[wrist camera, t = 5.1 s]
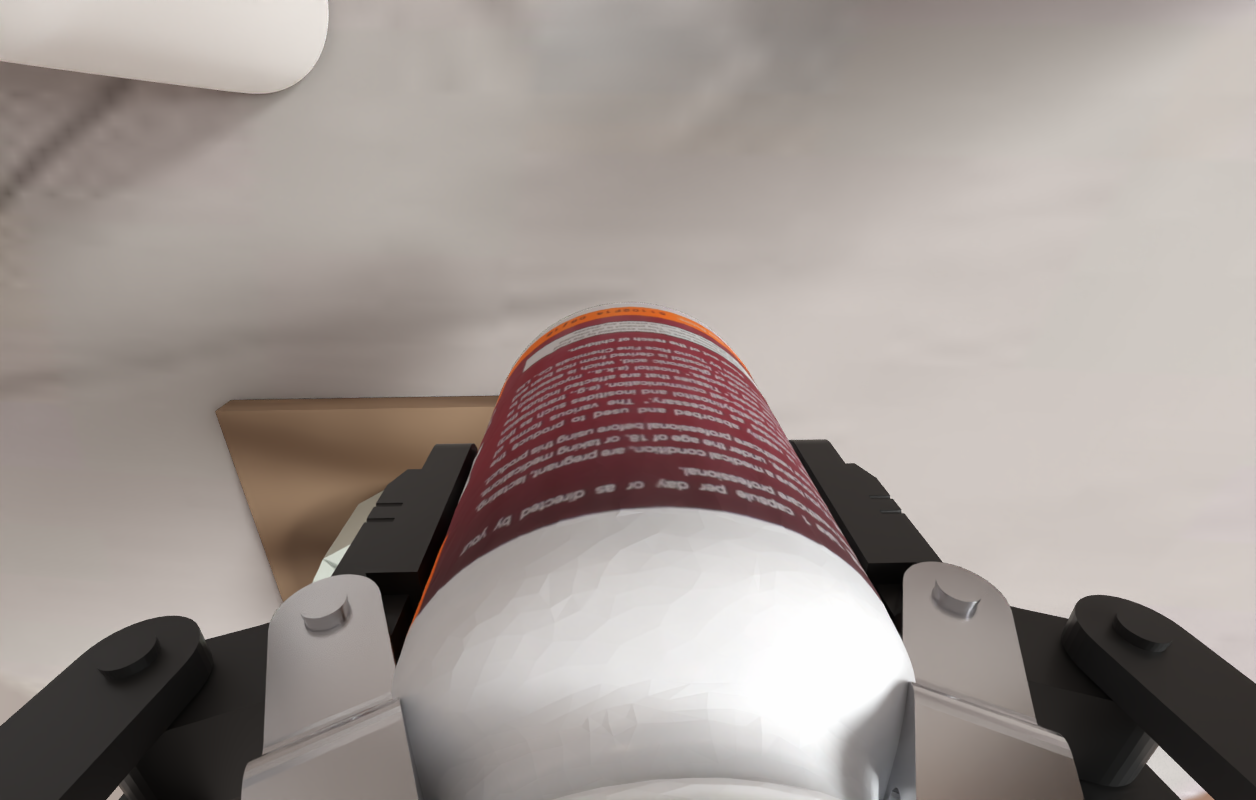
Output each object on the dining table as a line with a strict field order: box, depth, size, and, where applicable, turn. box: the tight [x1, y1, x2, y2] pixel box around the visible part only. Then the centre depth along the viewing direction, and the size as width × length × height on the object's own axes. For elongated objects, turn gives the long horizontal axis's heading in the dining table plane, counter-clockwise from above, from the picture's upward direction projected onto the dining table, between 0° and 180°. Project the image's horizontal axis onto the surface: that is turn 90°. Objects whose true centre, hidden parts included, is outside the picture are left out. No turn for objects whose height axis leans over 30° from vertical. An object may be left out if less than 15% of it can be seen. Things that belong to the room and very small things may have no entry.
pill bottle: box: [391, 302, 916, 800], centre depth 9 cm, size 6×6×11 cm
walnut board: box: [215, 396, 499, 602], centre depth 30 cm, size 18×18×1 cm
